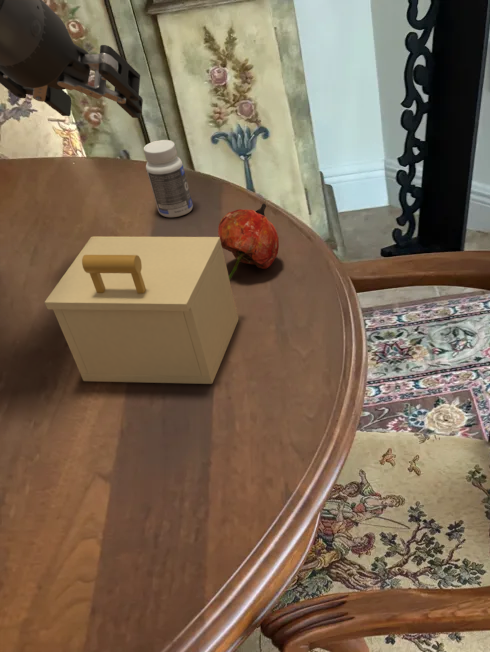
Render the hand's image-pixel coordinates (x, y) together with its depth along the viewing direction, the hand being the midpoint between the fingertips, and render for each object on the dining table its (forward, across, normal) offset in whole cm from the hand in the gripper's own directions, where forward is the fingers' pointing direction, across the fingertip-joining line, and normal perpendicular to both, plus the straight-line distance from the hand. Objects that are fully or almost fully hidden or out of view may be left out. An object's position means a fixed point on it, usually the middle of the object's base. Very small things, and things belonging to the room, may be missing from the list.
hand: (102, 108), depth 87 cm
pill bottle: (+19, 0, +4) cm, 20 cm away
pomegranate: (+10, -15, +14) cm, 23 cm away
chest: (-3, -11, +26) cm, 29 cm away
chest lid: (-10, -11, +20) cm, 25 cm away
